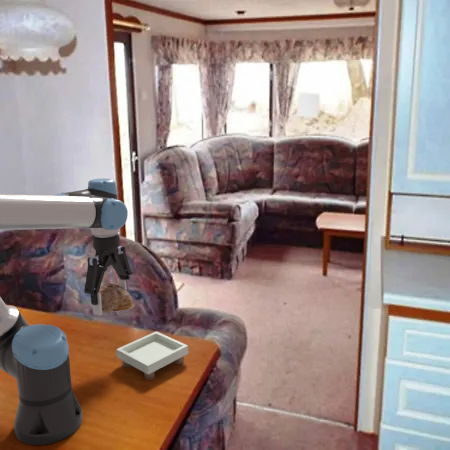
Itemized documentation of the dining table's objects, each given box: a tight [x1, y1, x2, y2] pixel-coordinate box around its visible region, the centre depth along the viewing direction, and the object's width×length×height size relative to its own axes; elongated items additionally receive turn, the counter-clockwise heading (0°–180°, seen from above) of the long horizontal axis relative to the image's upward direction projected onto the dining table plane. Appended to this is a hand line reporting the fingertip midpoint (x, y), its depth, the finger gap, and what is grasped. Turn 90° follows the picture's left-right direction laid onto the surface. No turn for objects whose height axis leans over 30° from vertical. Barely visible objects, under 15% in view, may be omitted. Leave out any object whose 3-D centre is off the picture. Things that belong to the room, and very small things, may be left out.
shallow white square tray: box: [115, 330, 189, 381], centre depth 145 cm, size 15×14×5 cm
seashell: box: [98, 283, 136, 314], centre depth 145 cm, size 10×9×10 cm
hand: (110, 307), depth 146 cm, fingers closed on seashell, 11 cm apart
